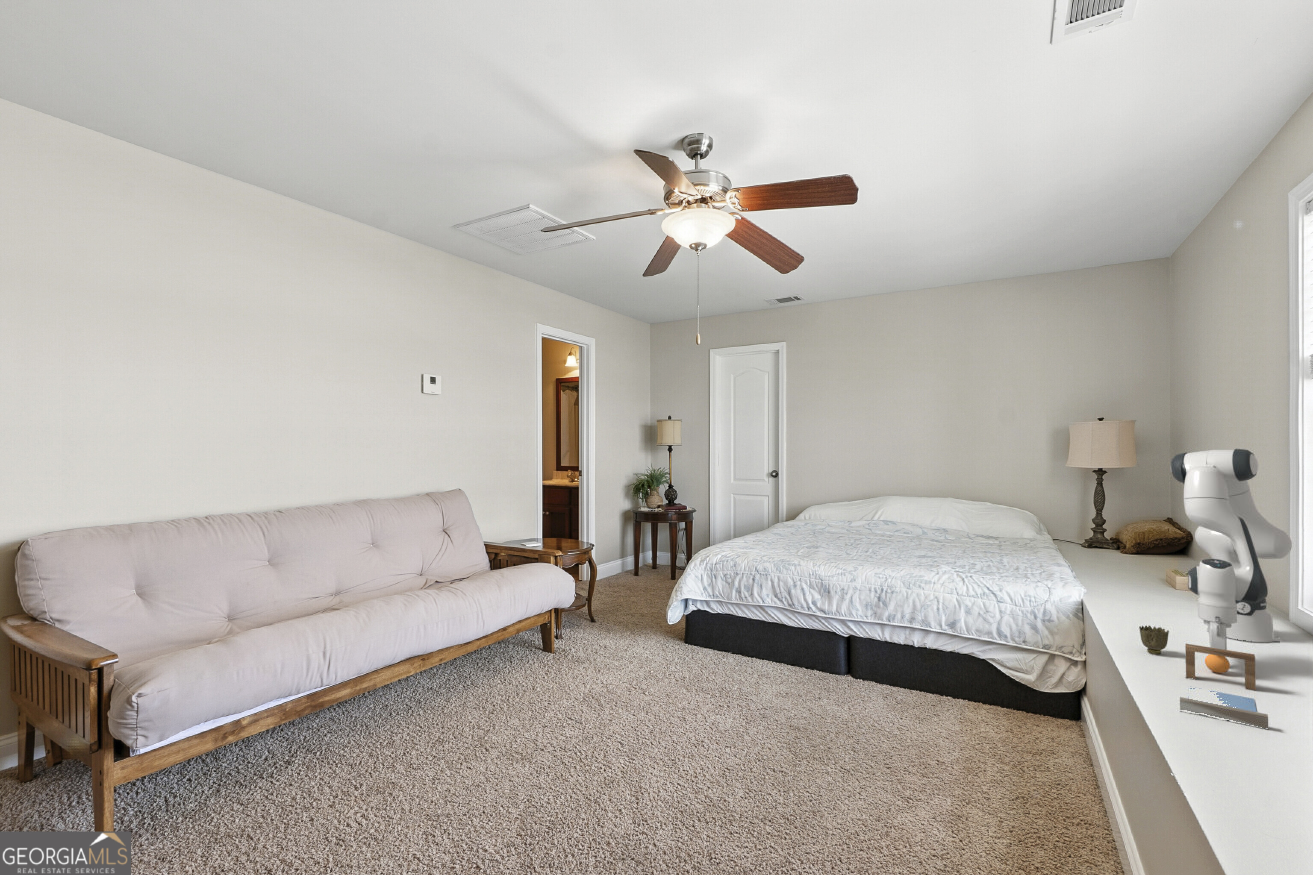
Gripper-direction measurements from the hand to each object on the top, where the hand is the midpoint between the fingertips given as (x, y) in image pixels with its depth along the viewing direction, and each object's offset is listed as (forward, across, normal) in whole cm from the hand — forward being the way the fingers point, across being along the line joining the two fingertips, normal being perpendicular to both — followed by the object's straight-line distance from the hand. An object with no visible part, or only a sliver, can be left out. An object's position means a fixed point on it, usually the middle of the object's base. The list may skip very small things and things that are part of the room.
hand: (1217, 659), depth 188 cm
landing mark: (+2, -33, 0) cm, 33 cm away
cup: (+2, +2, +15) cm, 16 cm away
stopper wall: (+2, -47, 0) cm, 47 cm away
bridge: (+2, -17, 0) cm, 17 cm away
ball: (-1, -7, 0) cm, 7 cm away
